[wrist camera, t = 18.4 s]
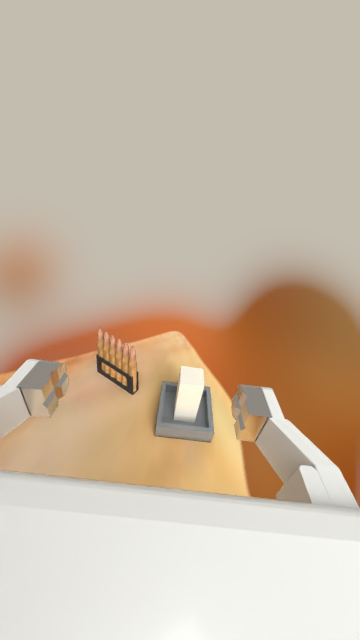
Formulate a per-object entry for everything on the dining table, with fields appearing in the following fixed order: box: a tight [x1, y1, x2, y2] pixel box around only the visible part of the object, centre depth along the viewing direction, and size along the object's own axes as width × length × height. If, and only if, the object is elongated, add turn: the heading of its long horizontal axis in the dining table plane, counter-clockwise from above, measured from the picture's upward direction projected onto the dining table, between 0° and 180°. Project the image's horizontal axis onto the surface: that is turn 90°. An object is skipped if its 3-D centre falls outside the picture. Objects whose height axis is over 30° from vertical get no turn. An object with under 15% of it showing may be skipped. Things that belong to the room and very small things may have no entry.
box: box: [155, 381, 214, 442], centre depth 42 cm, size 10×10×3 cm
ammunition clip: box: [97, 328, 138, 395], centre depth 45 cm, size 11×2×12 cm, turn 57°
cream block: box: [173, 366, 204, 423], centre depth 40 cm, size 4×4×10 cm
